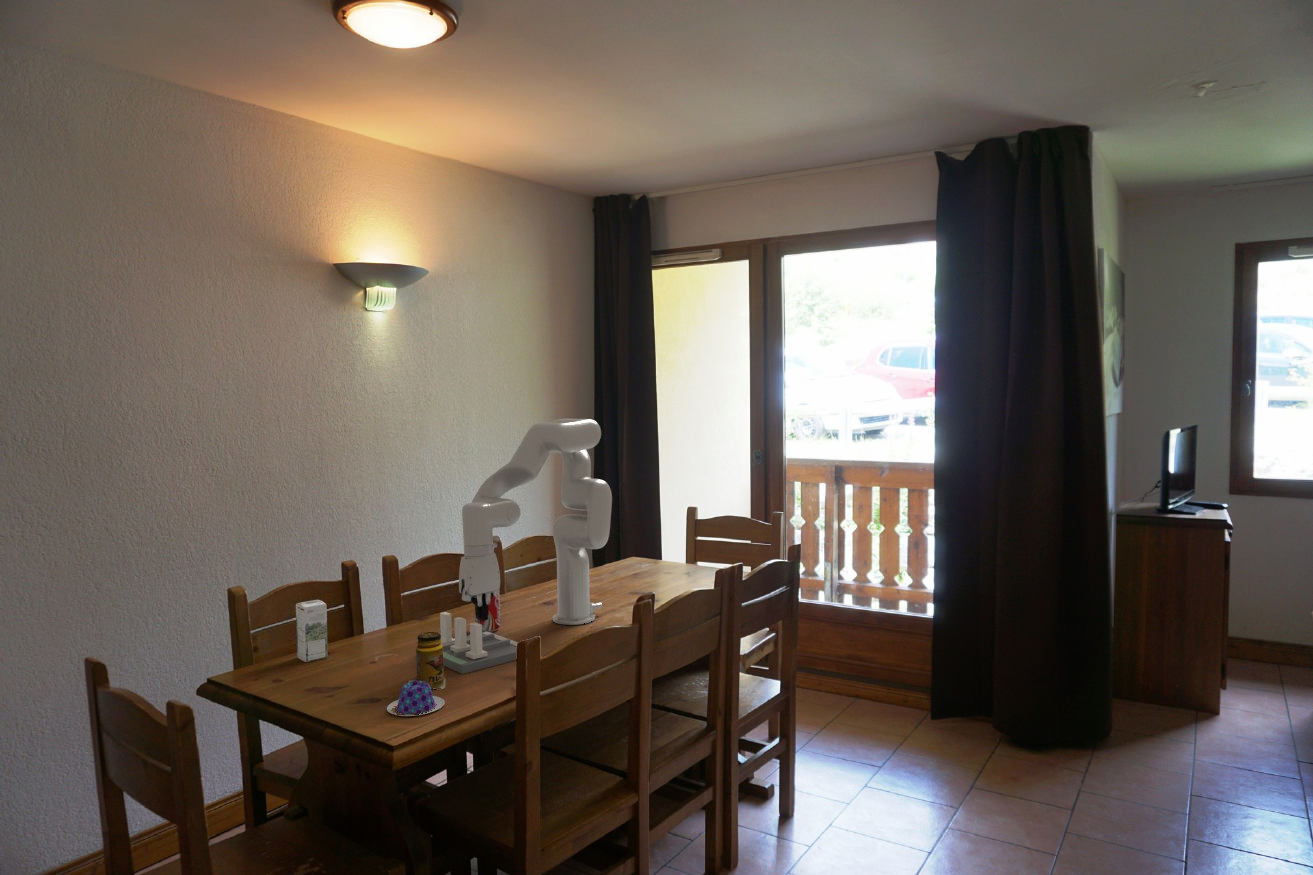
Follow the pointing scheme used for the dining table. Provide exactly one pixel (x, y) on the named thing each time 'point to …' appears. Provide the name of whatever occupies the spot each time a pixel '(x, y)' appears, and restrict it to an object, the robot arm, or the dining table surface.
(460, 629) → the post
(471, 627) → the post
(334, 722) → the dining table surface
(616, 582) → the dining table surface
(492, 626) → the soda can
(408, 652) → the dining table surface
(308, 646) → the syrup box
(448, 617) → the post
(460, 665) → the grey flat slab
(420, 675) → the condiment
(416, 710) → the pudding
